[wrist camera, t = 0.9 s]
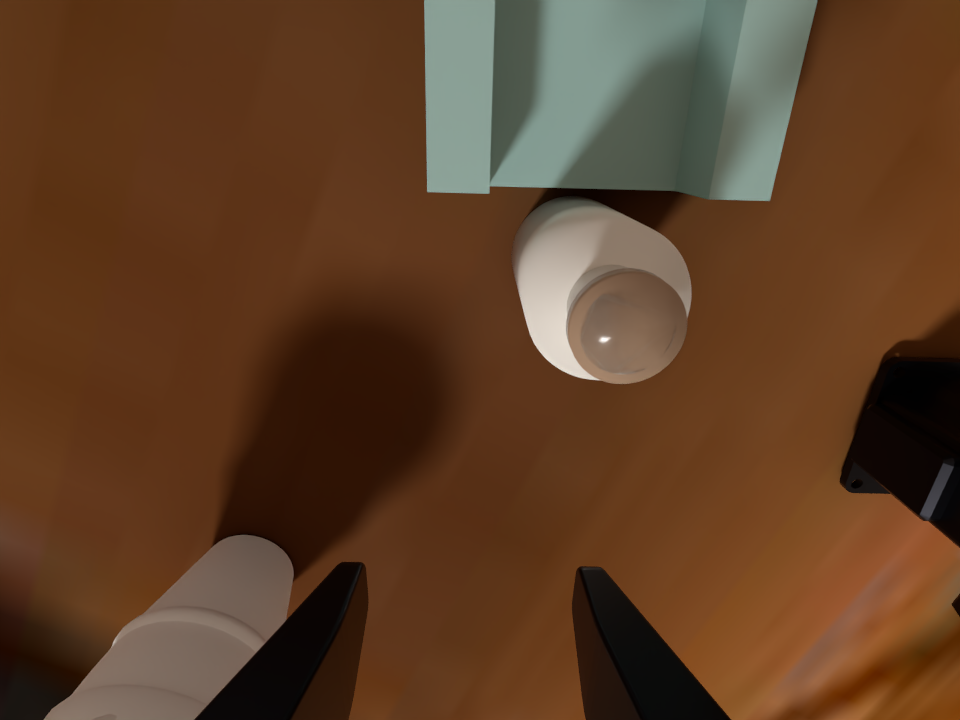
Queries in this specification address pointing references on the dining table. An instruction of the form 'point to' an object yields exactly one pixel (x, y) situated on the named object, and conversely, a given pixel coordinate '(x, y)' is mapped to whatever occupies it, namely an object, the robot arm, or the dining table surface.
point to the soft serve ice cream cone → (189, 637)
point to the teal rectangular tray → (611, 93)
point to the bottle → (600, 290)
